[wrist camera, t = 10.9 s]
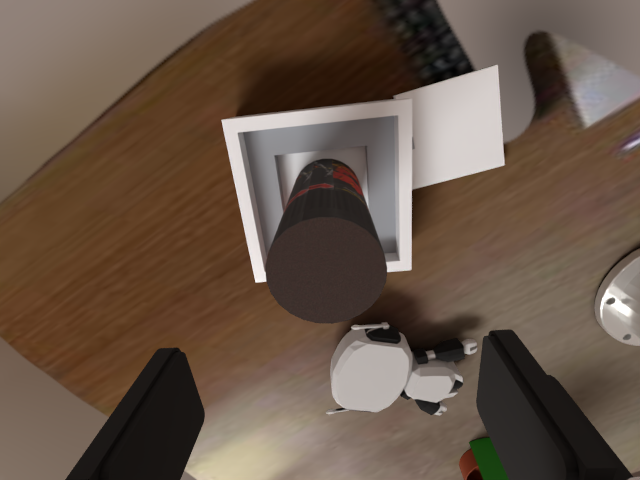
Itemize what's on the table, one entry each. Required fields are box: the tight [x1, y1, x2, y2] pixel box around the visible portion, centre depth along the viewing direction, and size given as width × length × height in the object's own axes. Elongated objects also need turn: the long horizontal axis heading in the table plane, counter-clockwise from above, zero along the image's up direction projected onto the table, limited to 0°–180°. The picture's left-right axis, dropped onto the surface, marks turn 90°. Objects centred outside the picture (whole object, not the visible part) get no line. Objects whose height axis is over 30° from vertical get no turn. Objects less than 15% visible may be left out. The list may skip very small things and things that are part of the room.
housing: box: [222, 98, 412, 282], centre depth 29 cm, size 14×14×4 cm
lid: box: [393, 65, 505, 190], centre depth 28 cm, size 10×8×1 cm
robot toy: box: [326, 322, 477, 415], centre depth 37 cm, size 12×4×15 cm
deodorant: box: [265, 159, 387, 323], centre depth 23 cm, size 6×6×15 cm
